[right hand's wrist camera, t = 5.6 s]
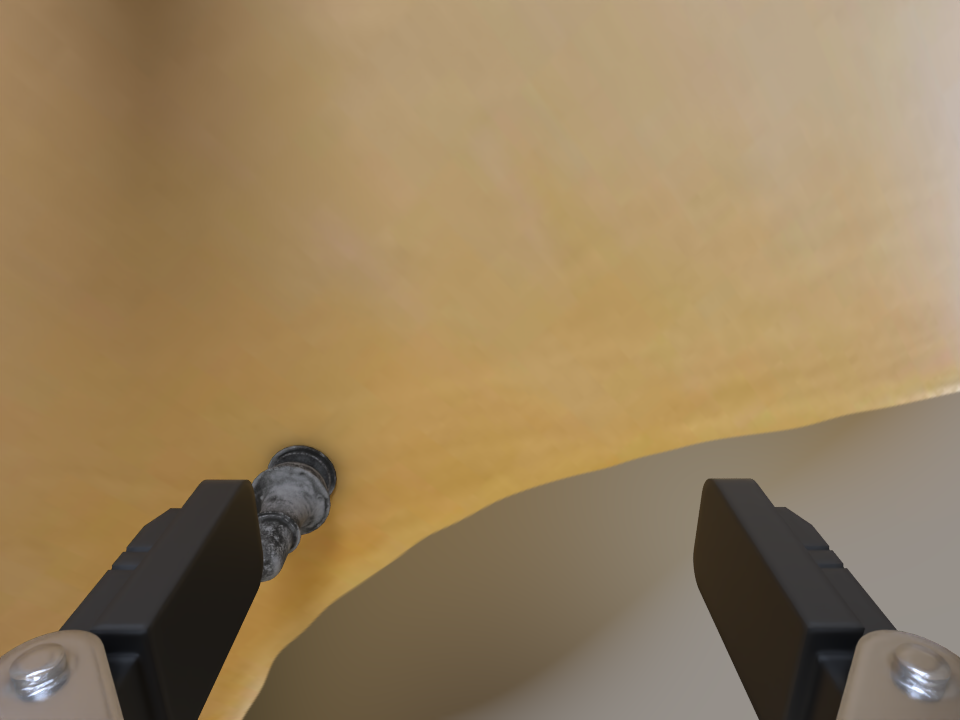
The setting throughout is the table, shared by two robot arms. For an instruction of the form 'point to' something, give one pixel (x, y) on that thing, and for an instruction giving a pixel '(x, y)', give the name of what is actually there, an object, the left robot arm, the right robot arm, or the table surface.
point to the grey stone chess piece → (291, 502)
